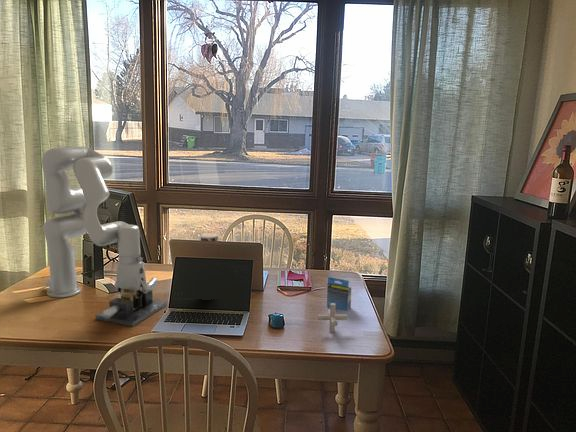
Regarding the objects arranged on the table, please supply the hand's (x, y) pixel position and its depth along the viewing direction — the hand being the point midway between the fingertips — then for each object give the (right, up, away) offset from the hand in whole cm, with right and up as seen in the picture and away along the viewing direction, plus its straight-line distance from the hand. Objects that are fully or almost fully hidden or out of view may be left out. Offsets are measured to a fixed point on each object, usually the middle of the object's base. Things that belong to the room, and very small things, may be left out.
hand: (131, 305), depth 175 cm
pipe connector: (+73, -7, -11) cm, 74 cm away
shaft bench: (0, -2, 0) cm, 3 cm away
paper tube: (+25, +1, +21) cm, 33 cm away
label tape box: (+78, -3, +10) cm, 78 cm away
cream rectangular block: (0, -1, 0) cm, 1 cm away
